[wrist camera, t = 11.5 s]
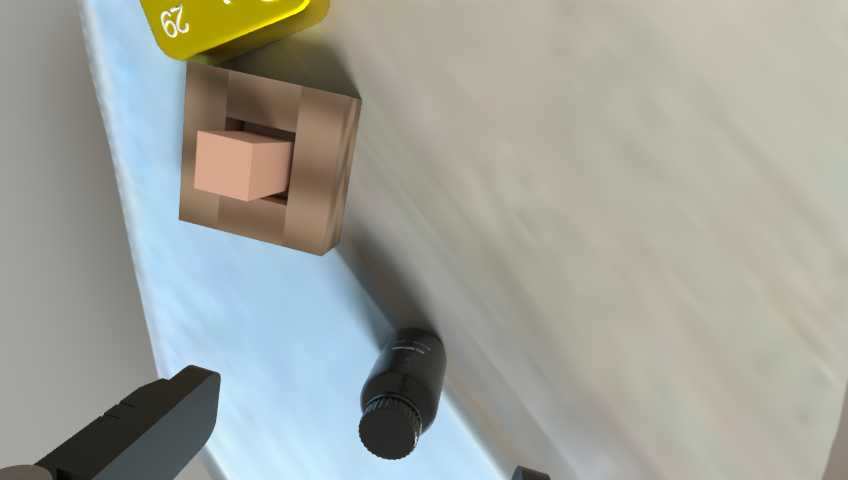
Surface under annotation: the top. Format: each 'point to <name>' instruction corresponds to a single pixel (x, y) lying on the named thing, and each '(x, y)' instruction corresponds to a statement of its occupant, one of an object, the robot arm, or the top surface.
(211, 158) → the terracotta peg
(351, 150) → the walnut base
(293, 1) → the element tile
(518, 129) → the top surface
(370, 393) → the supplement bottle
